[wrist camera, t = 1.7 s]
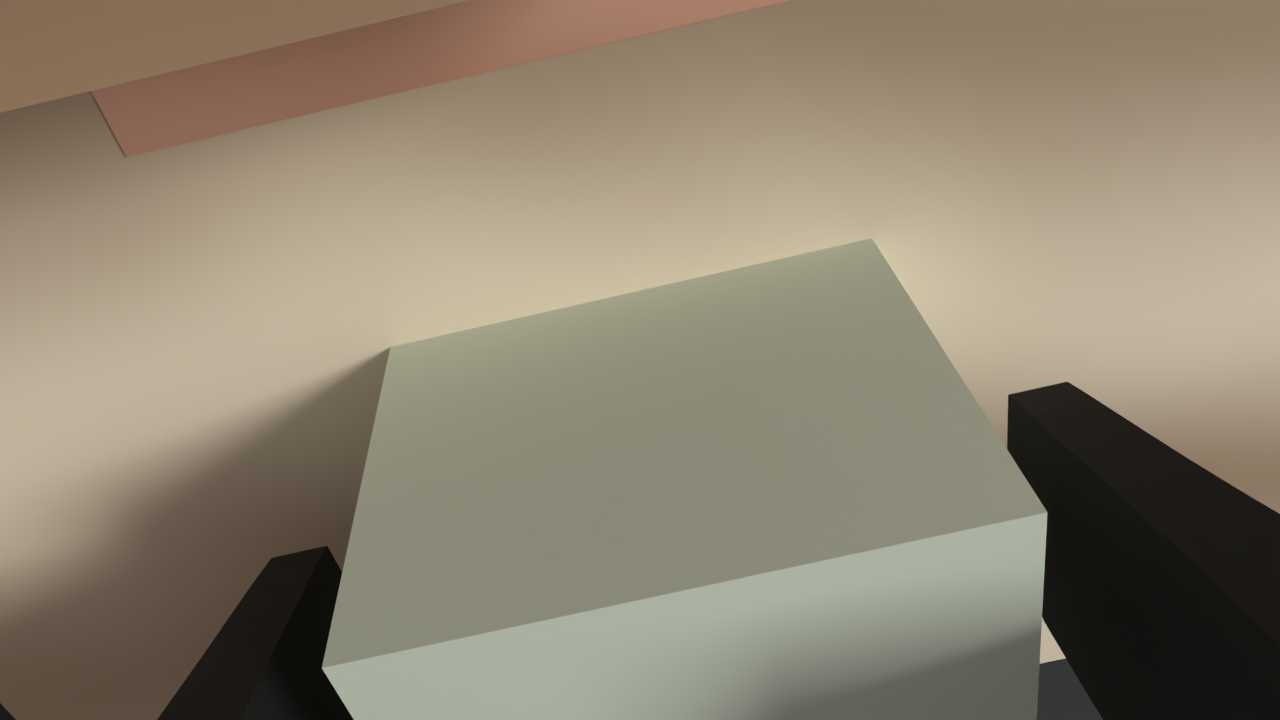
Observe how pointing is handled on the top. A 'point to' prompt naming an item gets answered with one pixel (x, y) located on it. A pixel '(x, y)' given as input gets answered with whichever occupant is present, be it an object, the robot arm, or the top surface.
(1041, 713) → the top surface
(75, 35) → the walnut block
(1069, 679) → the top surface
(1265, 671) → the robot arm
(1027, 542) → the sage block
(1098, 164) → the build board
